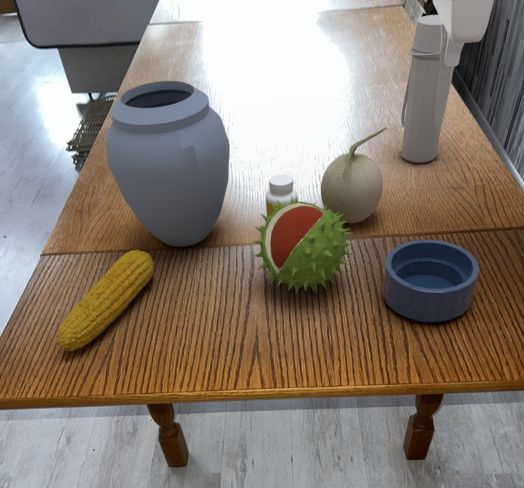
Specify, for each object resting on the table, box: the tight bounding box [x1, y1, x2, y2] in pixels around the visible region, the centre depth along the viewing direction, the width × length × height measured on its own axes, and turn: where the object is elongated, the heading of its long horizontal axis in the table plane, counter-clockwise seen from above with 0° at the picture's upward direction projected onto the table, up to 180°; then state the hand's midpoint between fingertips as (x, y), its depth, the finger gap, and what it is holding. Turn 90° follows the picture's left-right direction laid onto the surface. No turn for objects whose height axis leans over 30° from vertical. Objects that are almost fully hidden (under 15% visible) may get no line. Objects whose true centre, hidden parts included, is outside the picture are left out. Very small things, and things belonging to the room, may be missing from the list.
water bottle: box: [400, 14, 442, 164], centre depth 106 cm, size 9×8×25 cm
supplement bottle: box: [265, 173, 299, 217], centre depth 94 cm, size 5×5×10 cm
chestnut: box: [251, 196, 354, 296], centre depth 81 cm, size 15×14×15 cm
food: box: [56, 249, 155, 352], centre depth 82 cm, size 21×6×6 cm, turn 158°
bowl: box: [382, 239, 480, 323], centre depth 79 cm, size 13×13×6 cm
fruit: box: [320, 126, 388, 224], centre depth 93 cm, size 10×12×15 cm
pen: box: [434, 31, 455, 128], centre depth 76 cm, size 2×3×14 cm
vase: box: [105, 80, 231, 248], centre depth 90 cm, size 20×20×24 cm
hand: (448, 60), depth 74 cm, fingers closed on pen, 2 cm apart
